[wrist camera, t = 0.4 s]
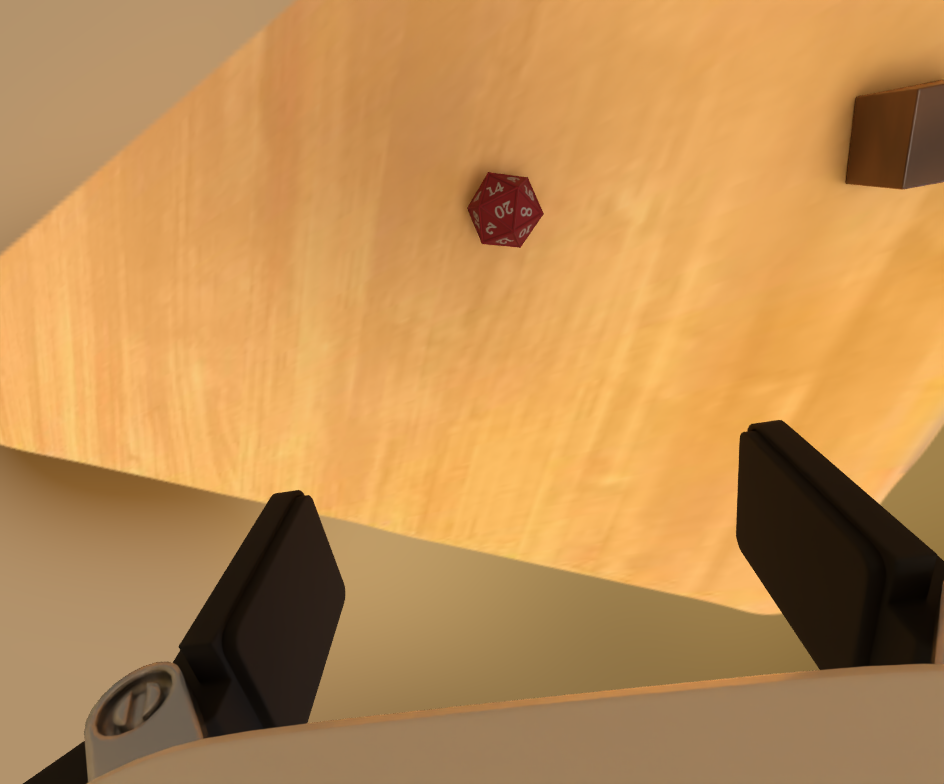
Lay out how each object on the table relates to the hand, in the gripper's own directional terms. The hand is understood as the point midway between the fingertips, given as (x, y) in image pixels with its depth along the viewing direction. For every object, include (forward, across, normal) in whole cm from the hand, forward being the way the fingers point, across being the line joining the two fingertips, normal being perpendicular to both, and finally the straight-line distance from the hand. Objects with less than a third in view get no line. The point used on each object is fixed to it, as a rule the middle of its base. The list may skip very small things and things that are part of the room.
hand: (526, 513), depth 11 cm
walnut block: (+23, -23, -4) cm, 33 cm away
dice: (+24, -1, -4) cm, 24 cm away
